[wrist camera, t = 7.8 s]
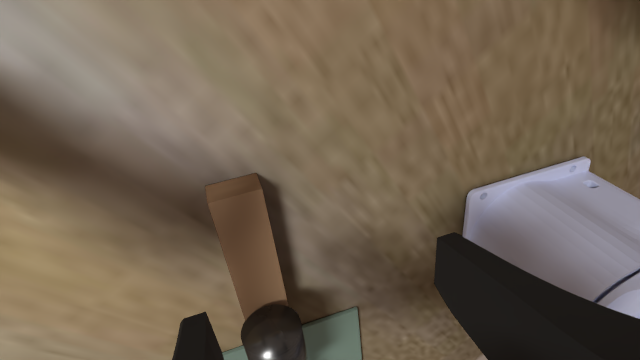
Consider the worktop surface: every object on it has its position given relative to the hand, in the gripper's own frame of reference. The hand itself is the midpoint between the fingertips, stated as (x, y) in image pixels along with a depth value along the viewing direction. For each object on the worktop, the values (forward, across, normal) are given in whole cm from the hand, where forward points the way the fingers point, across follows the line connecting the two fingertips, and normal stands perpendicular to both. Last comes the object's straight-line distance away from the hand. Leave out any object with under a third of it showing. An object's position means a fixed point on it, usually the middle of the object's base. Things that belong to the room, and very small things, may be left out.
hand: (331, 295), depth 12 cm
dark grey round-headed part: (+9, +2, +14) cm, 17 cm away
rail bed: (+10, +2, +6) cm, 12 cm away
